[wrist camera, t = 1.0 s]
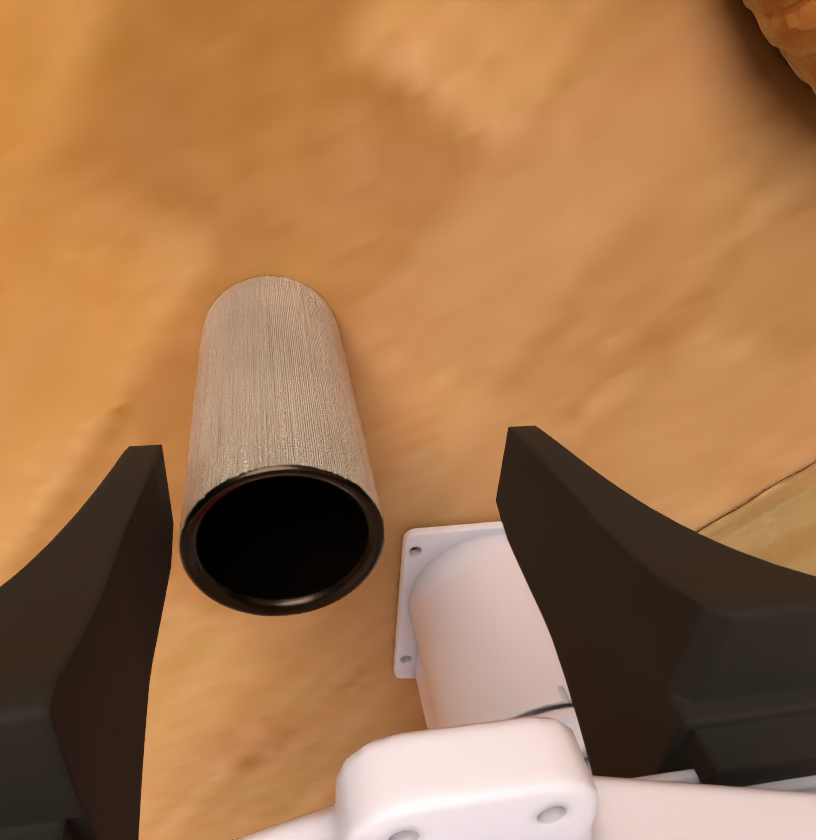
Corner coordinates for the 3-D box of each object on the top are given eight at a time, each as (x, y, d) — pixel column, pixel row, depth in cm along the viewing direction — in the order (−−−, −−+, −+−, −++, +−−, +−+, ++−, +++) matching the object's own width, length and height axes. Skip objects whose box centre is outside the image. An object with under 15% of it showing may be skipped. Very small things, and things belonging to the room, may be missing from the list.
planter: (287, 247, 23) (310, 429, 14) (363, 349, 25) (422, 556, 17) (172, 322, 23) (131, 540, 15) (258, 415, 26) (263, 646, 17)
